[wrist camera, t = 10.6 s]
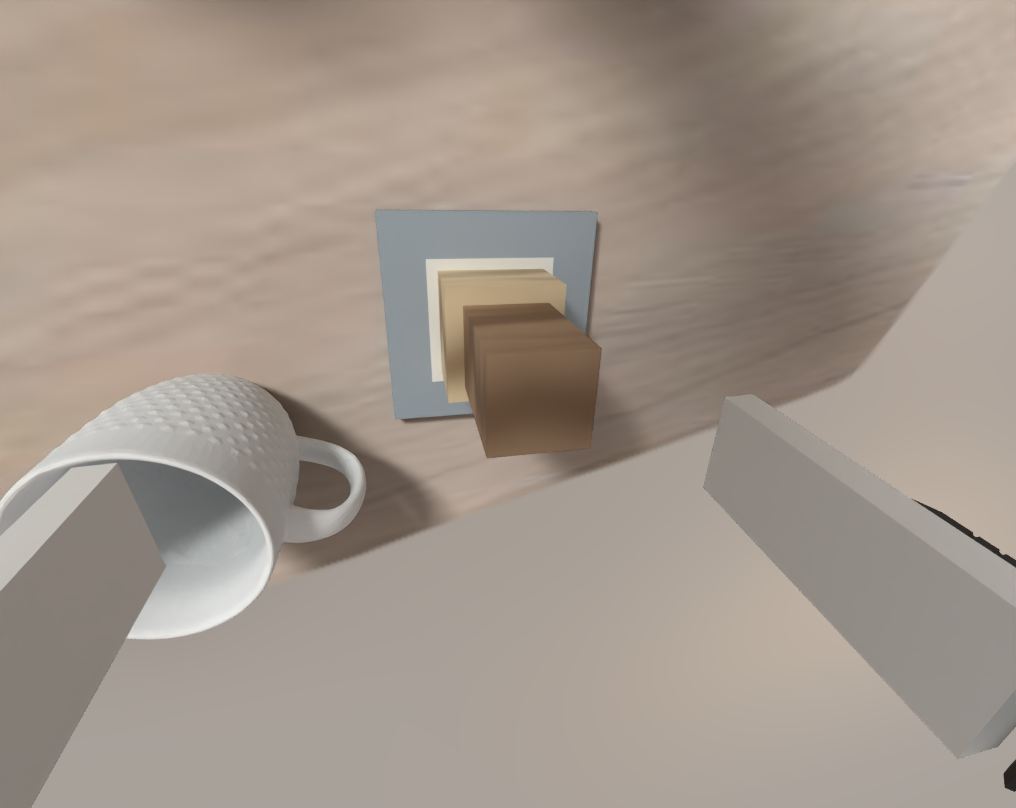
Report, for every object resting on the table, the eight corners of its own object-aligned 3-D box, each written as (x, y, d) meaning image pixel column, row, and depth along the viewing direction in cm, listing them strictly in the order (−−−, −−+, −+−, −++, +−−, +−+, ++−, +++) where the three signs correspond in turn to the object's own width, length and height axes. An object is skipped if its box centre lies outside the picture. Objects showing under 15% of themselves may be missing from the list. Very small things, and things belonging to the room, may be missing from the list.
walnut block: (462, 305, 26) (486, 354, 19) (548, 302, 27) (601, 348, 20) (464, 387, 28) (486, 458, 21) (544, 381, 29) (590, 448, 22)
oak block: (437, 270, 30) (444, 287, 25) (542, 268, 31) (566, 284, 27) (441, 372, 33) (448, 403, 29) (537, 366, 34) (558, 395, 30)
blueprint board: (375, 209, 29) (374, 210, 28) (591, 211, 31) (597, 212, 30) (395, 413, 35) (395, 420, 34) (574, 400, 37) (578, 405, 37)
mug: (383, 373, 33) (375, 479, 22) (359, 498, 37) (343, 643, 26) (136, 330, 29) (-38, 435, 17) (140, 478, 33) (3, 641, 21)
